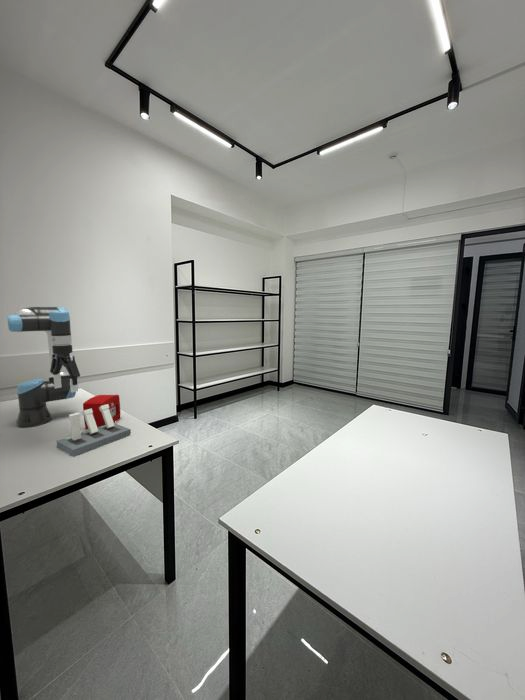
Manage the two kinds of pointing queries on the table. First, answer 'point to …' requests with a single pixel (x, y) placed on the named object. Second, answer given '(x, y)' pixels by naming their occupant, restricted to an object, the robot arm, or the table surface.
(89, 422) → the handle
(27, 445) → the table surface
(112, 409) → the fire alarm
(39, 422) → the robot arm
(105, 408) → the handle
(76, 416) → the handle
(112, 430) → the breaker panel
